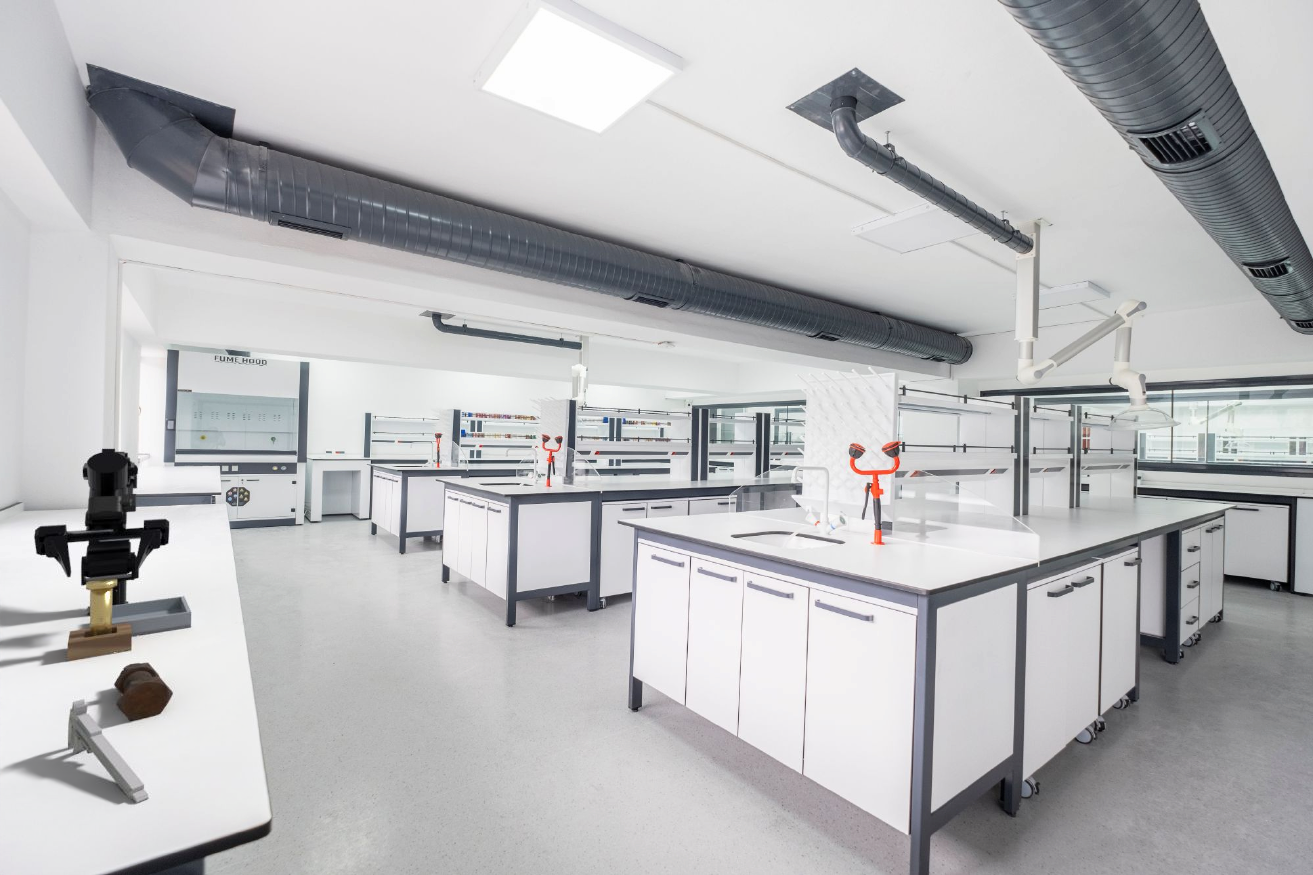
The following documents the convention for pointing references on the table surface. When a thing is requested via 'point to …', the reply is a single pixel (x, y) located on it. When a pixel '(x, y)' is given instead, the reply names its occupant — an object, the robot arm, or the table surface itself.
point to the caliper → (102, 751)
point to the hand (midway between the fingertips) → (103, 572)
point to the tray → (153, 615)
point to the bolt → (141, 692)
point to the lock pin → (101, 606)
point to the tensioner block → (99, 642)
